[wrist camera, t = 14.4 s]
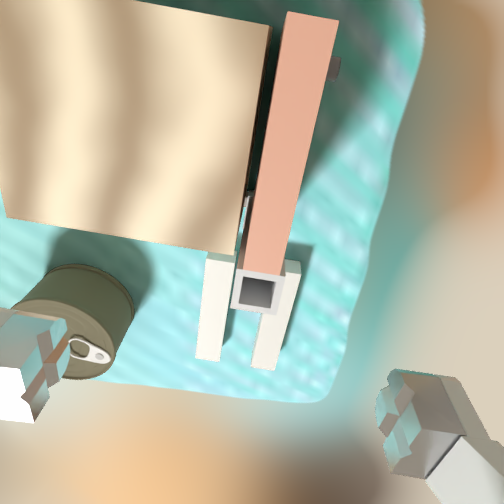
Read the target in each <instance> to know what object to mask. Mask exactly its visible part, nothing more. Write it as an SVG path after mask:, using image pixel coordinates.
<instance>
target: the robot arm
mask: <svg viewBox="0 0 504 504" xmlns="http://www.w3.org/2000/svg"><path fill="white" fill-rule="evenodd" d="M66 331H67V326H66V321H65V319H62V318H59V317H53V316H48V315H42V314H36V313H31V312H25V311H18V310H12V309H6V308H1V307H0V419H4V420H13V421H21V422H30V423H34V422H35V420H36V418H37V417H38V415H39V414H40V412H41V410H42V409H43V407H44V406H45V404H46V402H47V401H48V399H49V391H48V388H49V387H51V386H52V385H54V384H55V383H57V382H59V381H60V379H61V378H62V376H63V374H64V372H65V371H66V368H67V365H68V362H69V358H70V344H69V342H68V341H67V340H66V339H65V338H64V337H63V335H64V334H65V332H66ZM387 380H388V382H389V386H387V387H385V388H383V389H381V390H380V392H379V394H378V397H377V399H376V407H375V413H376V420H377V424H378V428H379V429H380V430H381V431H382V433H384V435H385V436H386V437H387V438H386V440H385V442H384V444H383V447H384V451H385V455H386V459H387V463H388V466H389V470H390V473H391V474H397V475H403V476H409V477H414V478H420V479H426V481H425V482H426V483H427V485H428V486H429V487H430V489H431V490H432V491H433V493H434V494H435V495H436V497H437V498H438V499H439V501H440V502H441V503H442V504H504V447H503V446H502V445H501V444H500V443H499V442H497V441H493V440H491V439H490V437H489V436H488V434H487V432H486V430H485V428H484V426H483V424H482V422H481V420H480V419H479V417H478V415H477V413H476V411H475V409H474V407H473V405H472V404H471V402H470V400H469V398H468V396H467V394H466V392H465V390H464V388H463V387H462V385H461V383H460V381H458V380H457V379H456V378H455V377H449V376H442V375H433V374H429V373H422V372H415V371H408V370H400V369H394V370H392V371H391V372H390V374H389V376H388V378H387Z"/></svg>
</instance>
